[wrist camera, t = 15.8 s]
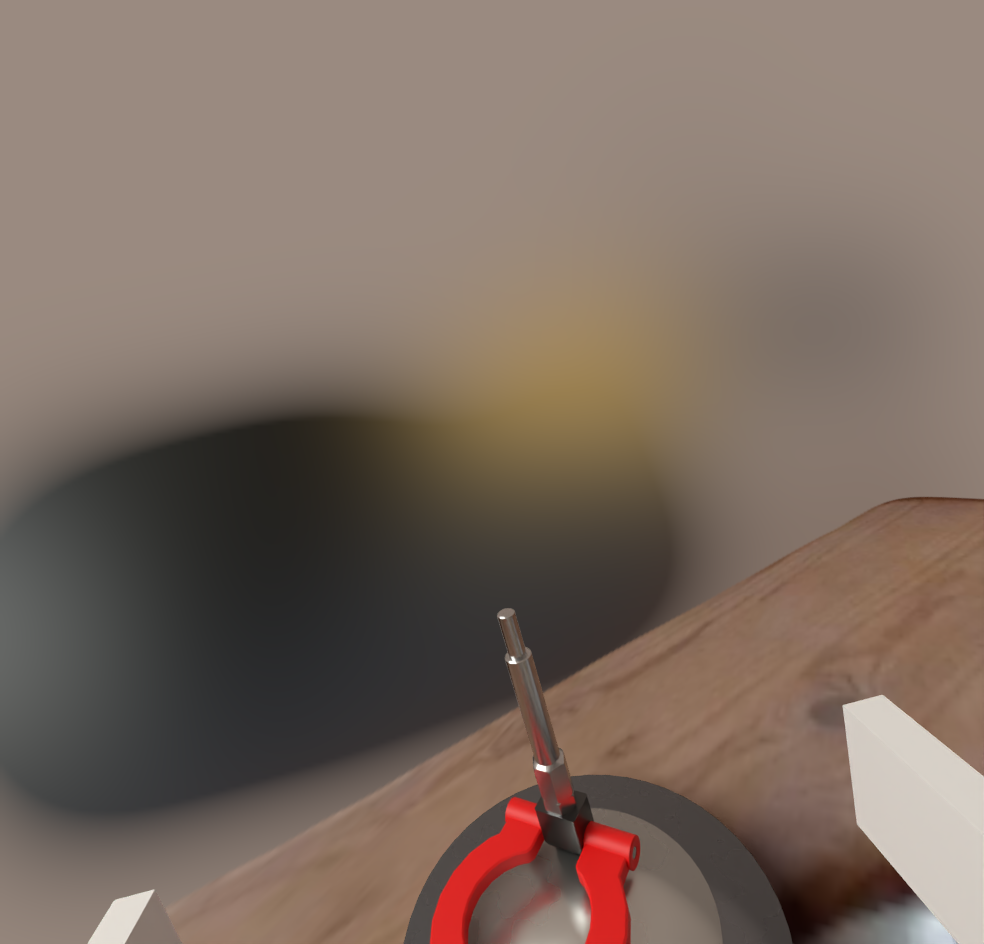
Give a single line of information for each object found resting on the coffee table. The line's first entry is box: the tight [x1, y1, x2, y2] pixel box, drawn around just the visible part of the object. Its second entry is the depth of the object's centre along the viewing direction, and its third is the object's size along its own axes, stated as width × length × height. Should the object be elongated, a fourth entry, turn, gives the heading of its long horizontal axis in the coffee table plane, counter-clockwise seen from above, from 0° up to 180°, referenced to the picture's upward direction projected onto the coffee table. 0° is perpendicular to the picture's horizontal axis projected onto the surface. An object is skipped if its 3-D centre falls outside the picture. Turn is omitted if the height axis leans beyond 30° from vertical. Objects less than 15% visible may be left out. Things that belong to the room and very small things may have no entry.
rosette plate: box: [404, 775, 793, 944], centre depth 24 cm, size 16×16×3 cm
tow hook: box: [430, 608, 640, 944], centre depth 22 cm, size 8×13×9 cm
